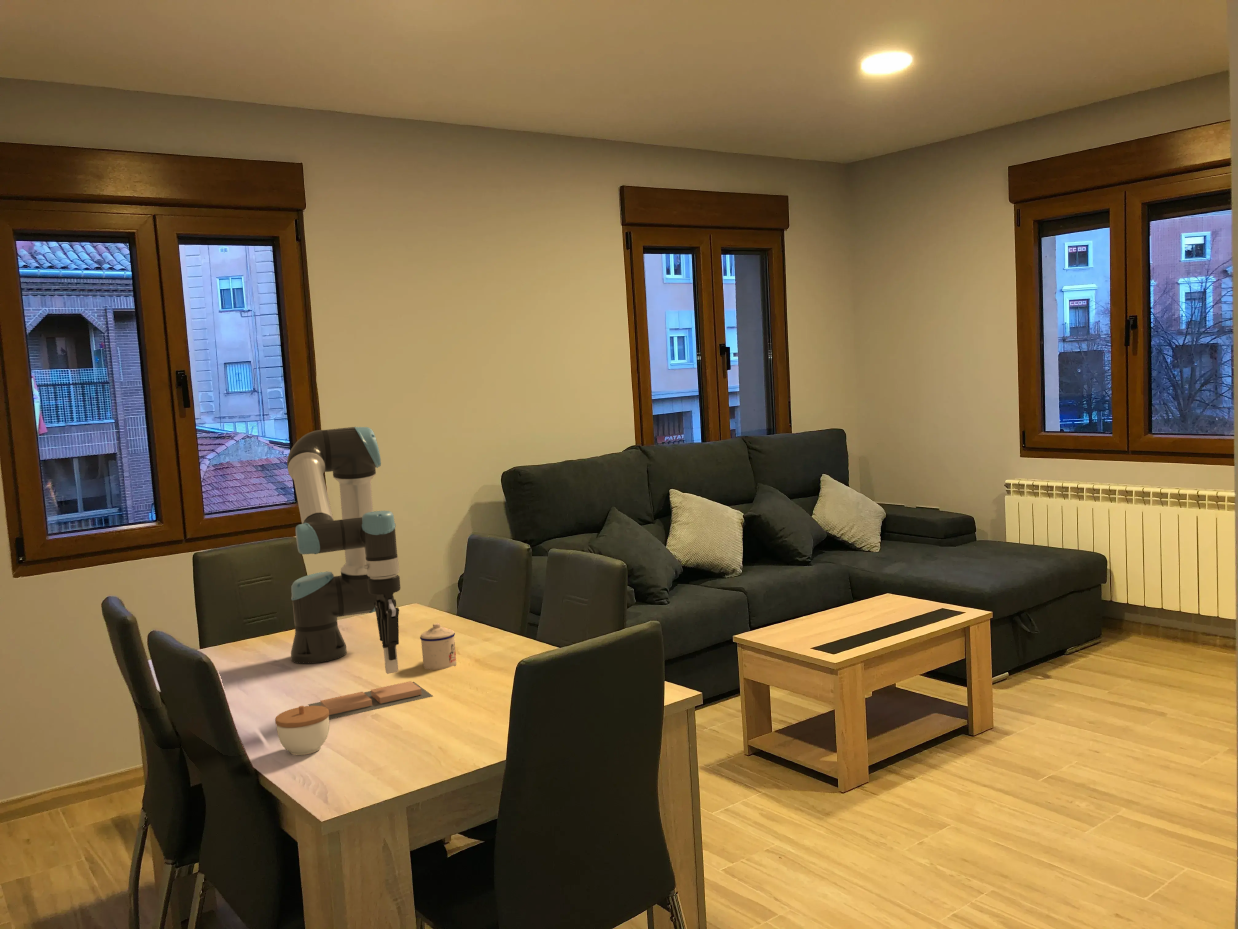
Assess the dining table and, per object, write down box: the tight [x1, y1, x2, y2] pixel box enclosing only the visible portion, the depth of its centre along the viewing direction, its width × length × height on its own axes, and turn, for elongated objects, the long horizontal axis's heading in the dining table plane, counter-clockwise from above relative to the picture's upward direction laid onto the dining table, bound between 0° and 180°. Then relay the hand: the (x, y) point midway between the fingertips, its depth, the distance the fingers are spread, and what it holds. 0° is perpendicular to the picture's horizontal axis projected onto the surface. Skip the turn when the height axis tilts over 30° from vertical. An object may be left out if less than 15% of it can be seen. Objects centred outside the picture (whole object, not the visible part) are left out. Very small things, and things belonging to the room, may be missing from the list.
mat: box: [307, 681, 434, 721], centre depth 238 cm, size 15×26×1 cm, turn 120°
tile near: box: [319, 691, 372, 715], centre depth 234 cm, size 2×10×8 cm
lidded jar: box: [274, 705, 330, 756], centre depth 208 cm, size 11×11×9 cm
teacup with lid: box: [419, 622, 457, 671], centre depth 265 cm, size 12×9×12 cm
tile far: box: [370, 680, 422, 704], centre depth 240 cm, size 2×10×8 cm
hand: (392, 672), depth 241 cm, fingers closed
